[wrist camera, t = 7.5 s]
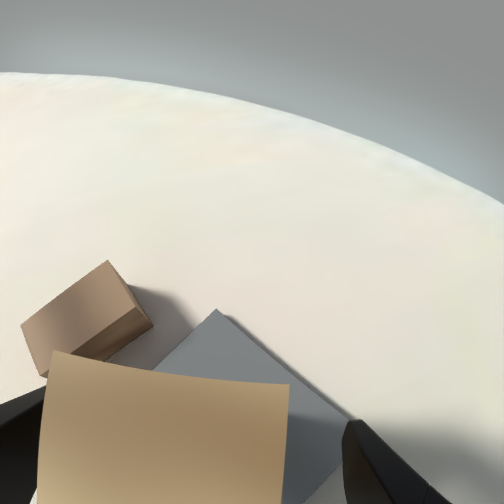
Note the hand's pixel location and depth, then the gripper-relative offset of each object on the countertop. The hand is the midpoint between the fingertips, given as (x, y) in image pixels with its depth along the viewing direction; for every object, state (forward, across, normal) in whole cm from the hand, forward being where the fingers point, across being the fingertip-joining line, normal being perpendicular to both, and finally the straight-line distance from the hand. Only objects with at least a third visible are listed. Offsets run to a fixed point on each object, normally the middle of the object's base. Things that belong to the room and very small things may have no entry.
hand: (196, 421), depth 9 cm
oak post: (+4, 0, +6) cm, 8 cm away
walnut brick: (+9, +8, +3) cm, 13 cm away
